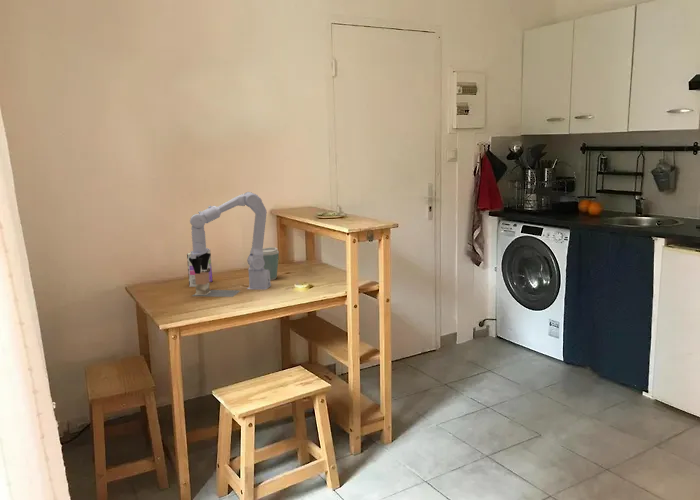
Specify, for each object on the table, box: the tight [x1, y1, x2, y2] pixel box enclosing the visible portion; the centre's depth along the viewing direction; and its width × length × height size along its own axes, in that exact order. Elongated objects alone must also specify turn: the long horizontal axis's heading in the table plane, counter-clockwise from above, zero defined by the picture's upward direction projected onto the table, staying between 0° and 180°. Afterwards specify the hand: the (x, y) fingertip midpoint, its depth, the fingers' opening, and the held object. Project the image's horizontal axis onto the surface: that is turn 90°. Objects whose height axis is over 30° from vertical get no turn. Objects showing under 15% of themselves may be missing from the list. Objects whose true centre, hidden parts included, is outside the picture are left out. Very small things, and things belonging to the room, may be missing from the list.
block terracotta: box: [195, 272, 210, 284], centre depth 262 cm, size 4×4×4 cm
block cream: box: [195, 282, 211, 294], centre depth 263 cm, size 4×4×4 cm
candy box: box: [186, 248, 213, 288], centre depth 280 cm, size 14×6×16 cm, turn 168°
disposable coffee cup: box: [263, 246, 280, 281], centre depth 288 cm, size 11×11×15 cm
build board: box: [191, 289, 241, 298], centre depth 262 cm, size 19×11×1 cm, turn 81°
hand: (201, 271), depth 261 cm, fingers open, 7 cm apart
